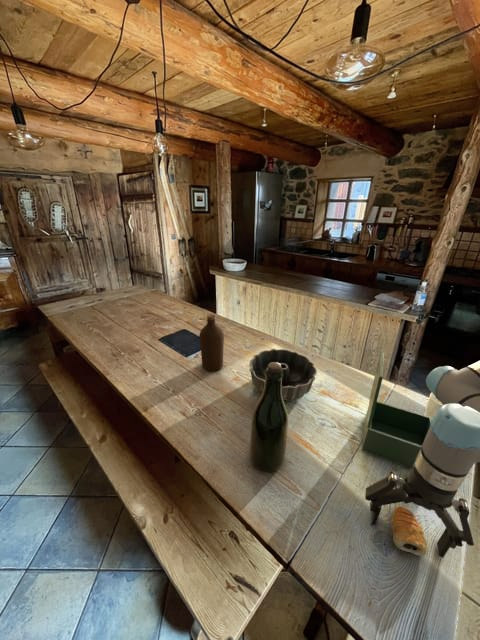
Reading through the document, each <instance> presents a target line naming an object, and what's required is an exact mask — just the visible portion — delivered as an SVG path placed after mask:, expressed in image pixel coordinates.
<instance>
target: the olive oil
mask: <svg viewBox="0 0 480 640" xmlns="http://www.w3.org/2000/svg"><path fill="white" fill-rule="evenodd" d="M198 337H199V339H198V340H199V347H200V356H201V366H202V367H201V368H202V369H203V370H205V371H206V372H217V371H220V370H222V369H223V367H224V346H225V334H224V330H223V329H222V328H221V327H220V326H219V324H216V316H215V314H208V315H207V316H206V324H205V325H204V326H203V327H202V328H201V330H200V332H199V335H198Z"/></svg>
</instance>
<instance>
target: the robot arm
mask: <svg viewBox="0 0 480 640" xmlns="http://www.w3.org/2000/svg"><path fill="white" fill-rule="evenodd" d="M425 384H426V387H427V389H428V390H429V391H430V393H433V394H434V395H435V397H436V399H438V400H439V401H440V402H441V403H442V404H443V406H442V407H441V408H440V409H439V411H438V412H437V414H436V416H435V417H434V418H433V419H432V421H431V425H430V428H429V430H428V433H427V435H426V438H425V440H424V442H423V445H422V447H421V449H420V451H419V453H418V455H417V457H416V459H415V462H414V464H413V466H412V469H411V468H410V471H409V473H408V476H407V477H406V478H404V479H403V478H402V477H399V476H398V475H397V472H396V471H394V470H390V471H389V473H388V474H387V476H385V477H384V478H381V479H380V480H378V481H376V482H374V483H372V484H371V485H369V486H367V487H365V495H364V496H365V501H368V502H370V504H369V511H370V512H371V523H370V524H371V525H372V526H376V524H377V522H378V519H379V516H380V514H381V512H382V509H383V506H388V505H393V504H399V503H403V504H406V505H407V504H413V505H416V506H419V507H422V508H423V509H425V510H427V511H434V513H435V514H436V516H437V518H438V519H440V520H441V522H442V524H443V525H444V526H445V529H444V531H443V532H442V533H441V535H440V537H439V539H438V540H437V542H436V547H437V553H438V554H437V555H438V557H440V558H441V559H444V557H445V555H446V554H447V553H448V551H449V550H450V548H451V549H452V550H454V549H456V548H457V547H459V548H461V547H463V543H466V545H468V546H470V547H473V546H475V542H474V539H473V534H472V531H471V527H470V522H469V520H468V518H469V516H470V509H469V508H470V507H469V504H468V500H467V499H465V498H463V497H460V498H459V499H456V498H455V497H456V495H457V494H458V491H459V488H460V487H461V486H462V485H463V482H464V481H465V479H466V477H467V476H468V474H469V472H470V471H471V470H472V467H473V466H474V465H475V464H477V463H480V360H478V361H476V362H474V363H472V364H470V365H467V366H465V367H463V368H461V369H459V370H458V369H457V368H455V367H452V366H449V365H444V366H438V367H435V368H434V369H432V370H431V371H430V372H429V374H427V376H426V379H425ZM451 507H452V508H453V509H454V511H456V513H457V515H458V516H459V521H460V523H461V524H460V525H461V529H460V528H459V526H458V525H457V524H456V522H455V521H454V519H453V518H452V516H451V514H450V513H449V511H448V510H447V509H449V508H451Z"/></svg>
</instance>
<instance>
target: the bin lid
mask: <svg viewBox="0 0 480 640" xmlns="http://www.w3.org/2000/svg"><path fill="white" fill-rule="evenodd" d="M384 353H385V351H383V350H380V351H379V358H378V361H377V365H376V369H375V373H374V377H373V381H372V385H371V386H372V387H371V390H370V394H369V402H368V407H369V411H368V422H367V428H369V429H370V426H371V422H372V418H373V414H374V411H375V407H376V403H377V401H378V398H379V394H380V390H381V386H382V382H383V378H384V356H385V355H384Z"/></svg>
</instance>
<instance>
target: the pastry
mask: <svg viewBox="0 0 480 640" xmlns="http://www.w3.org/2000/svg"><path fill="white" fill-rule="evenodd" d="M391 517H392V520H391V523H390V525H391V527H392V540H393V544H394V545H395V547H396V548H397V549H399V550H402V551H403V552H407V553H412V554H413V555H416V556H418V557H423V556H425V555H426V554H427V549H428V548H427V539H426V537H425V533H424V531H423V528H422V527H421V525H420V522H418V519H417V518H416V516H415V515H414V513H413V512H412V511H411V510H409V509H408V508H406V507H403V506H402V505H398V506H396V507H395V508H394V510H393V514H392V516H391Z"/></svg>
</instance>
